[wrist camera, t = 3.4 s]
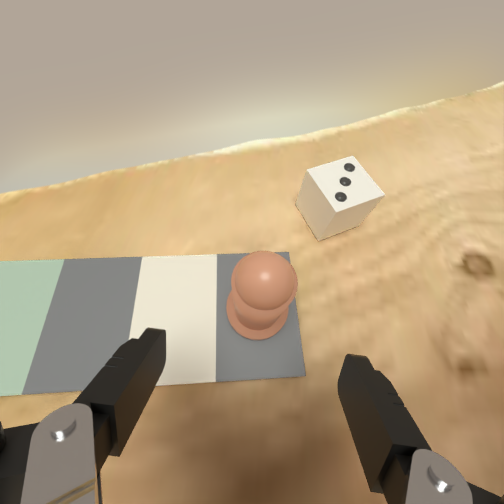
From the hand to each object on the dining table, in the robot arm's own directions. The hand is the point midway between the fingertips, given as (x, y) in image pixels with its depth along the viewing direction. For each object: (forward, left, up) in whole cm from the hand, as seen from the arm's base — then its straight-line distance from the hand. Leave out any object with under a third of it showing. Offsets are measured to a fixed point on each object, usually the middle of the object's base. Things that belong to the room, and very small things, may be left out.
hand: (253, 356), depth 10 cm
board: (+9, -4, -9) cm, 13 cm away
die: (-9, -14, -9) cm, 19 cm away
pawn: (-1, -4, -8) cm, 9 cm away
